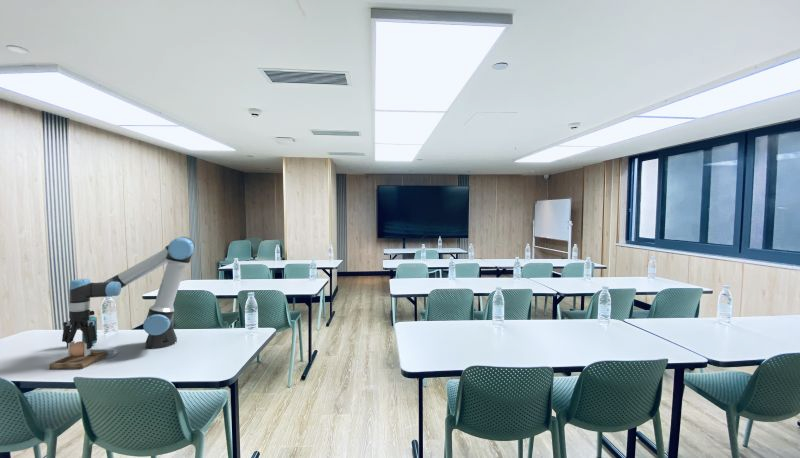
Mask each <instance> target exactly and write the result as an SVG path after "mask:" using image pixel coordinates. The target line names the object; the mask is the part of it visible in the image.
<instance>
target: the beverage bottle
mask: <svg viewBox="0 0 800 458" xmlns="http://www.w3.org/2000/svg"><path fill="white" fill-rule="evenodd" d="M94 315H95V311H94V310H90V316H89V320H90V321H96V324H95V330H96V340H94V341H92V345H94V344H97V342H98V321H97V319H98V318H97V317H96V316H94ZM88 329H89V328H88ZM81 333H82V332H81ZM81 338H82V339H81V341H83V342H86V340H85V338H84V335H83V333H82V334H81Z"/></svg>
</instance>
